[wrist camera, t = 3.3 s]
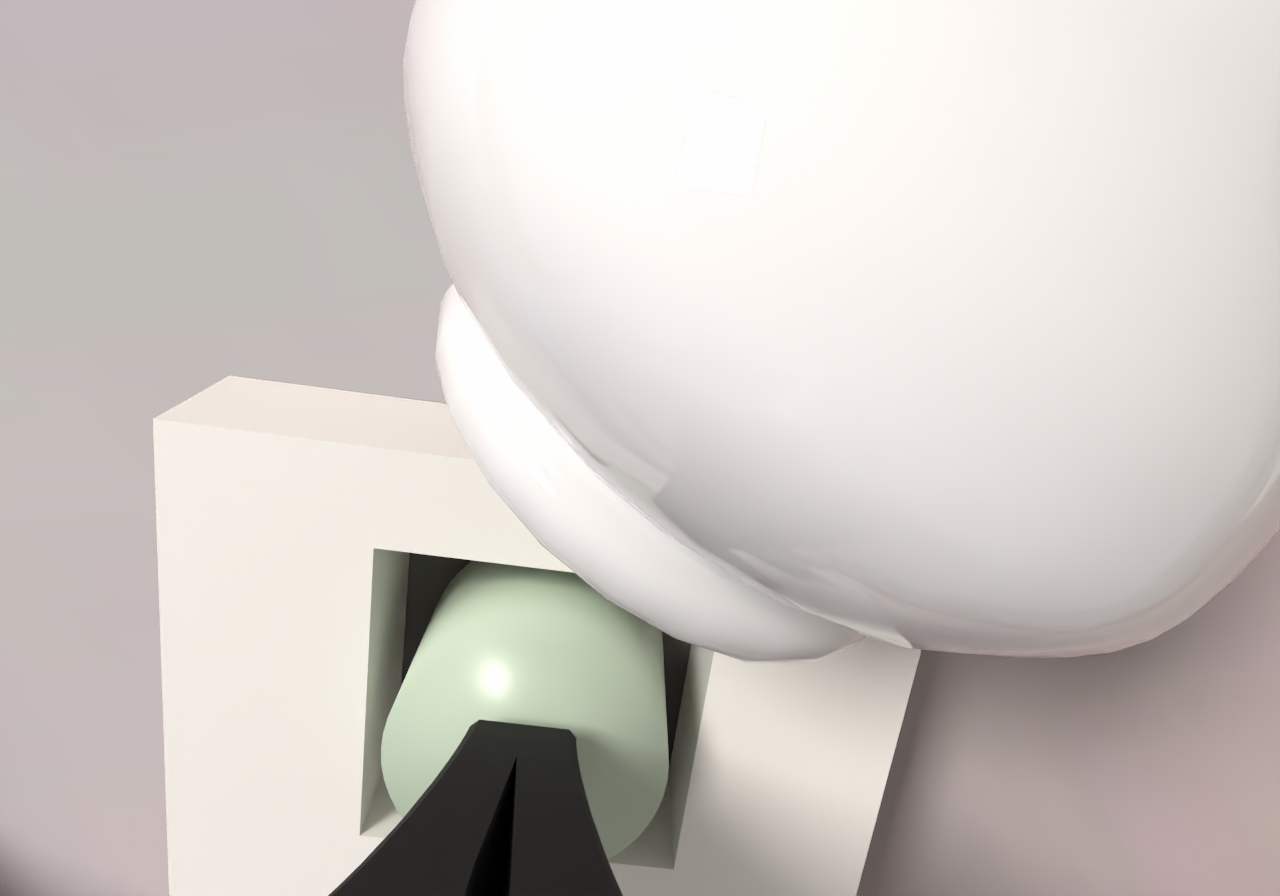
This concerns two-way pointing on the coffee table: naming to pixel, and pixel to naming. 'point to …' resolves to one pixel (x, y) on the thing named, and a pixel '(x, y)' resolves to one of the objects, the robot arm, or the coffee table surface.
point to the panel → (373, 658)
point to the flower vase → (865, 307)
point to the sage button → (537, 688)
